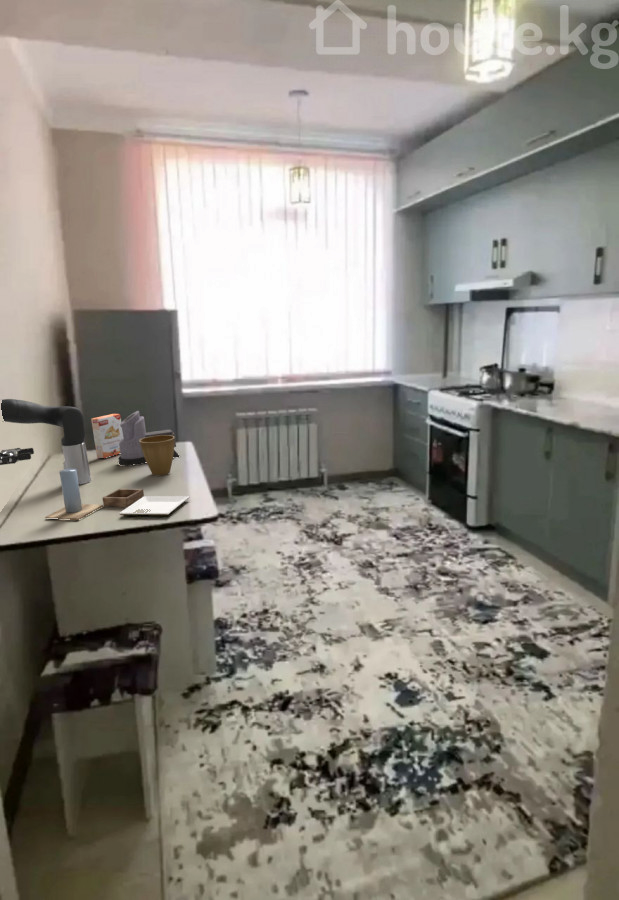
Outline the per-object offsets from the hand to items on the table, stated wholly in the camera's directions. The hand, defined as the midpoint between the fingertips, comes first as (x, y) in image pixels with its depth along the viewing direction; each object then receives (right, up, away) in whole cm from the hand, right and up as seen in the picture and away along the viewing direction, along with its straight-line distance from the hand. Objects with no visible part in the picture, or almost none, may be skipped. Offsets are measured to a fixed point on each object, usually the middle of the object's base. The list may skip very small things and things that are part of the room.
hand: (32, 453), depth 198 cm
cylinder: (+11, -21, +9) cm, 25 cm away
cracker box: (-6, -2, +96) cm, 97 cm away
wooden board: (+11, -22, +9) cm, 26 cm away
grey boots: (+17, -4, +83) cm, 85 cm away
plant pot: (+31, -9, +54) cm, 63 cm away
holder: (+26, -19, +17) cm, 37 cm away
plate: (+41, -20, +7) cm, 47 cm away
